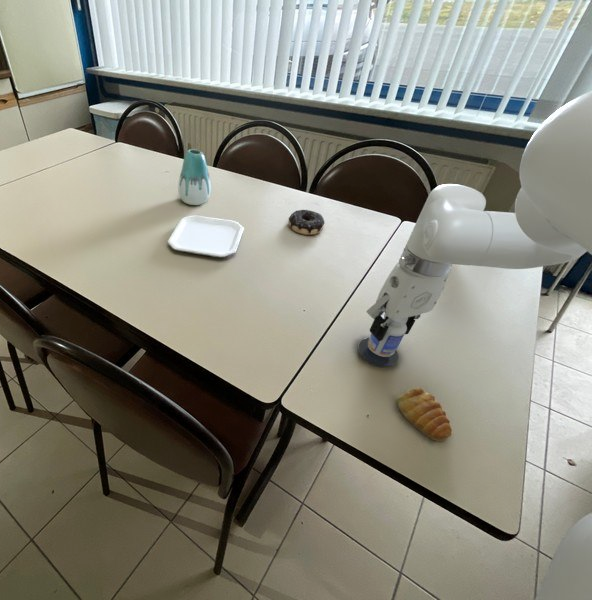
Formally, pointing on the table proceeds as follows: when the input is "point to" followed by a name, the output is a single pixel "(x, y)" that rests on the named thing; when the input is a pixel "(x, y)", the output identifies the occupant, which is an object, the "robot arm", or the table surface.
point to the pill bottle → (389, 338)
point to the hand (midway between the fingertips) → (388, 332)
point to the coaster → (376, 356)
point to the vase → (194, 179)
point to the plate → (206, 236)
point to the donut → (306, 222)
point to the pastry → (425, 413)
